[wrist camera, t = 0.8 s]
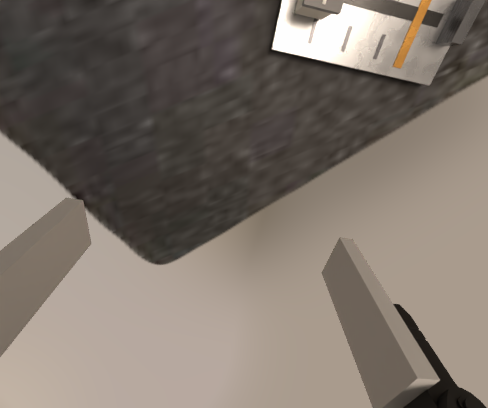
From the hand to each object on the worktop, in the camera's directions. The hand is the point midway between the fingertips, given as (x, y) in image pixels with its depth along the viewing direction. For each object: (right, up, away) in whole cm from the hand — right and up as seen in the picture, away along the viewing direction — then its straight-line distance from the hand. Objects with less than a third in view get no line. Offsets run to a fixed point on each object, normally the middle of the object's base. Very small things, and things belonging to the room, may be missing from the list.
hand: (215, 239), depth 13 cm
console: (+16, +24, +14) cm, 32 cm away
